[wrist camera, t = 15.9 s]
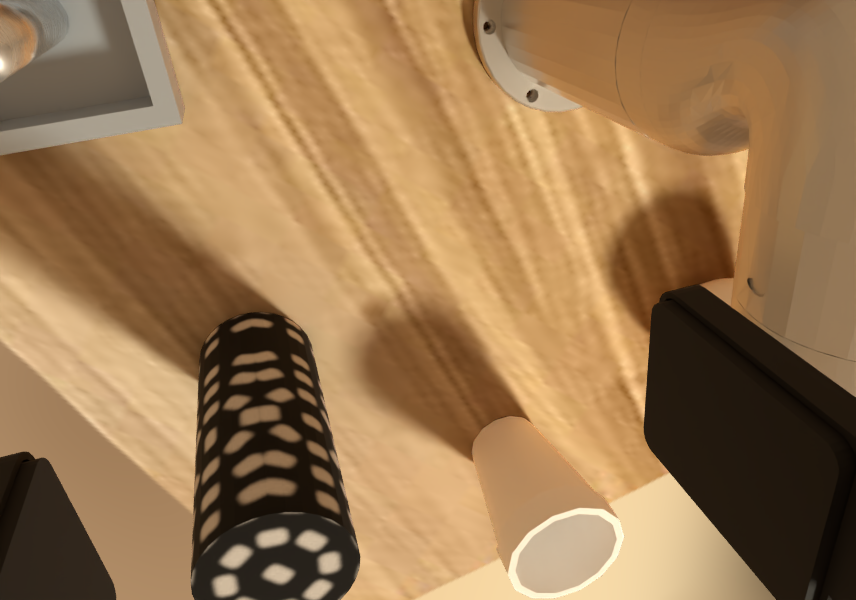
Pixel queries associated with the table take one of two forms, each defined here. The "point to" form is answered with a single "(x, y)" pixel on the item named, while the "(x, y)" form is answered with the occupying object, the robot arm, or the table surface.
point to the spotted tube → (267, 471)
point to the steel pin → (29, 31)
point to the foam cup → (542, 512)
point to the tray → (93, 80)
